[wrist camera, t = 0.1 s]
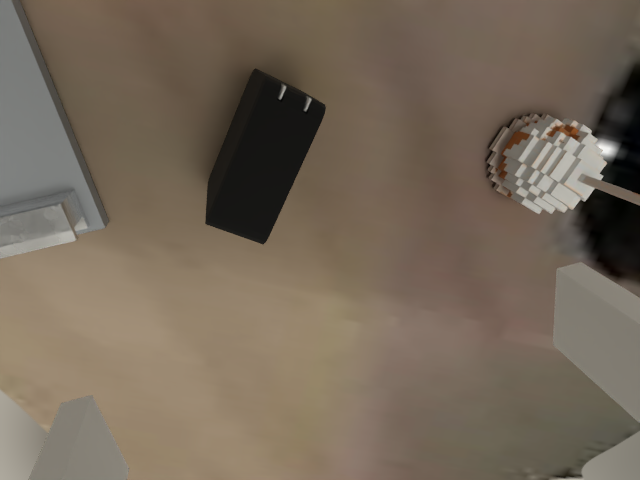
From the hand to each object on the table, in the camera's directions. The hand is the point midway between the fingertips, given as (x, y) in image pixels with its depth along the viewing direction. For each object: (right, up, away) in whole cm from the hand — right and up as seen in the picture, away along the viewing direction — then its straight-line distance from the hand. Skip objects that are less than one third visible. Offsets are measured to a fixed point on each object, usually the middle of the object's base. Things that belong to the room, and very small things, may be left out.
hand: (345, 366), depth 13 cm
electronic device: (-6, +12, +25) cm, 28 cm away
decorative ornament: (+18, +11, +31) cm, 37 cm away
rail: (-25, +5, +22) cm, 33 cm away
